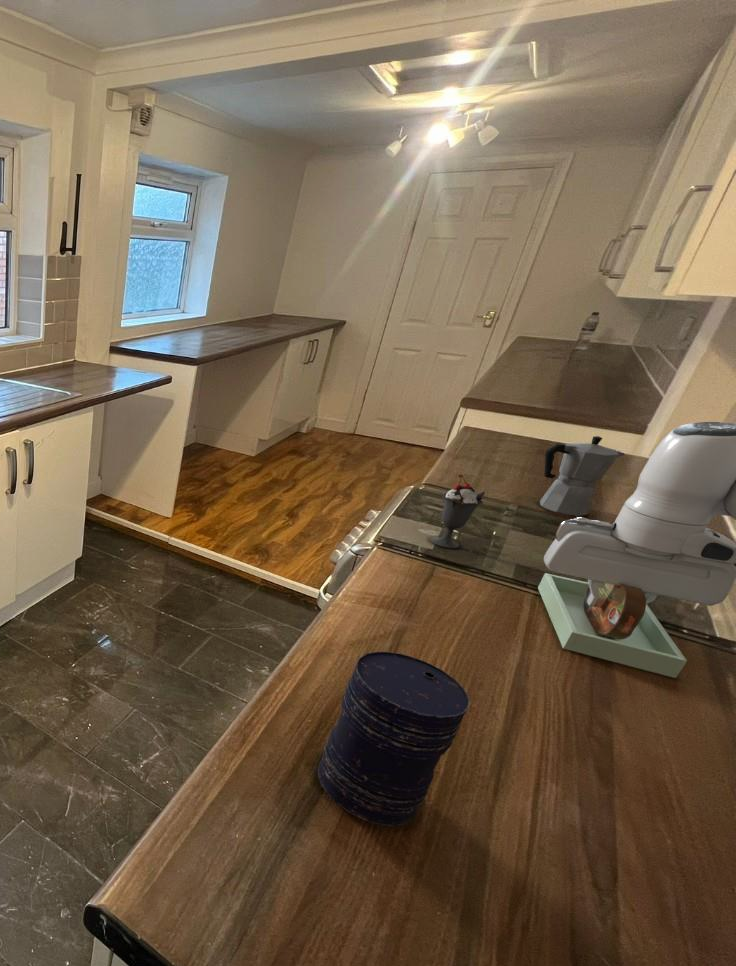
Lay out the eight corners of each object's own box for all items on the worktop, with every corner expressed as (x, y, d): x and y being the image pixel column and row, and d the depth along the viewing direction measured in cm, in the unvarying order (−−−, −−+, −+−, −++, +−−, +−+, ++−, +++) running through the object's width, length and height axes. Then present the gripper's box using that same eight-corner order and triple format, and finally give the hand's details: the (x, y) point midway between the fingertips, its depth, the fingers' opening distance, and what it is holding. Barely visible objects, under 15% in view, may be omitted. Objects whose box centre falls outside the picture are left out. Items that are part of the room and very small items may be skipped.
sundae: (418, 539, 122) (444, 472, 115) (439, 534, 124) (465, 468, 118) (449, 552, 117) (478, 483, 110) (470, 547, 119) (500, 479, 112)
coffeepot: (580, 504, 143) (616, 433, 135) (607, 519, 135) (647, 444, 127) (511, 498, 145) (542, 428, 137) (533, 512, 137) (568, 439, 129)
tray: (630, 608, 99) (639, 593, 98) (675, 678, 83) (687, 661, 81) (537, 587, 105) (545, 572, 104) (562, 648, 88) (572, 632, 87)
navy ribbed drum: (374, 840, 58) (426, 729, 51) (297, 767, 66) (332, 663, 59) (438, 808, 62) (494, 700, 55) (357, 743, 70) (397, 642, 63)
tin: (578, 601, 100) (599, 557, 96) (603, 606, 98) (624, 562, 95) (601, 645, 88) (625, 597, 85) (629, 651, 87) (655, 603, 83)
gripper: (569, 521, 88) (530, 598, 94) (762, 557, 79) (705, 639, 85) (560, 508, 93) (524, 581, 99) (741, 540, 84) (688, 619, 90)
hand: (609, 608), depth 92 cm, fingers closed on tin, 2 cm apart
